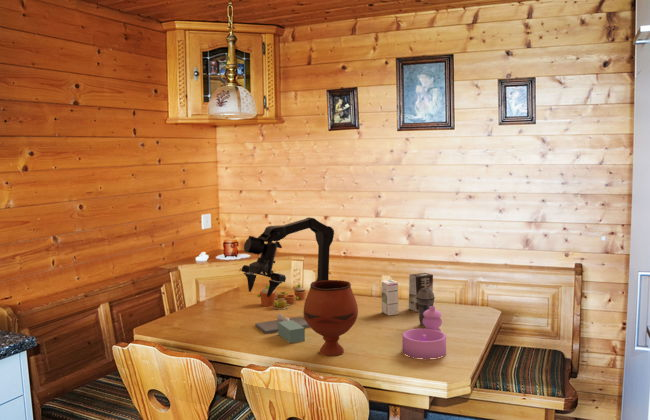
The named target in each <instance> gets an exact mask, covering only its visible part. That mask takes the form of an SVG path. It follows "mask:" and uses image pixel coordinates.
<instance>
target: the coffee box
mask: <svg viewBox="0 0 650 420" xmlns="http://www.w3.org/2000/svg"><path fill="white" fill-rule="evenodd" d="M425 278H426V288H429V289H431V290H432V291H433V292H434V274H431V273H427V272H419V273H411V274H409V277H408V280H409V281H408V309H409V310H411V311H413V312H416V313H419V308H418V301H417V295H418V292H419V291H420V290H421V289H422V288H425Z"/></svg>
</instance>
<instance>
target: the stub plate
mask: <svg viewBox="0 0 650 420" xmlns="http://www.w3.org/2000/svg"><path fill="white" fill-rule="evenodd" d="M289 320H293V321H294V322H296V323H298V324H299V325H301V326H302V327H304V328H305V329H307V328H311V327H310V326H309V325H308V324H307V322H306V320H305V318H302V317H301V316H296V317H284V313H277V318H276V320H275V319H274V320H269V321H261V322H255V327H256V328H258V329H259V330H260V331H261V332H263V333H264V334H265V335H267V334H273V333H274V334H275V333H278V322H282V321H289Z"/></svg>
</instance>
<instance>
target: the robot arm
mask: <svg viewBox="0 0 650 420" xmlns="http://www.w3.org/2000/svg"><path fill="white" fill-rule="evenodd" d="M308 229H310V231H312V232H313V233H314V235H315V240H316V243H317V246H318V248H317V249H318V250H317V251H318V252H317V255H318V256H317V278H316V280H315V281H322V280H330V279H329V277H330V276H329V274H330V271H329V269H330V250H331V249H330V247H331V245H332V243H333V242H334V235H335V230H334V228H333V227H332V226H328V225H326V224H324V223H323V222H320V221H318V219H316V218H314V217H306V218H303V219H300V220H297V221H294V222H293V221H292V222H290V223H286V224H282V225H269V226H266V227H265V229H264V231H263V232H262V233H261V234H260V235H259V236H258V237H255V236H253V235H252V236H251V235H249V236H248V238H247V239H246V240H245V242H244V244H243V252H244V253H248V254H253V255H258V258H257V261H253V262H252V263H249V265H246V264H244V265H243V266H242V267H241V272H242V273H243V275H244V276H245V277H246V280H247V288H248V292H250V293H251V292H252V290H253V288H254V285H255V281H256V279H257V275H259V276H264V277H267V278H270V279H268V281H269V282H268V283H269V285H268V286H269V289H268V293H267V297H269V296H270V295H271V294H272V292H273V291H276V290H275V289H277V288H278V286H279V285H280V284H283V283H286V280H287V277H286V275H285V274H281V273H280V272H274V270H273V265H274V264H276V260H275V257H276V252H277V248H278V249H282V248H283V247H282V245H281V244H280V241H281V240H283V239H284V238H286V237H287V236H289V235H291V234H294V233H295V234H296V233H298V232H300V231H301V232H302V231H304V230H308ZM259 255H260V257H259Z"/></svg>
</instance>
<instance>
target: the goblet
mask: <svg viewBox="0 0 650 420" xmlns="http://www.w3.org/2000/svg"><path fill="white" fill-rule="evenodd" d="M309 286H310V288H309V290H308V293H307V295H306V297H305V299H304V300H305V301H304V305H303V316H304V318H303V319H304V320H306V322H307V324H308V325H309V326H310V327H309V328H310V329H312V330H313V332H315V333H316V334H318V335H320V336H322V337H323V338H322V339H323V340H324V343H323V344H322V345H321V347H320V349H319V354H320V355H322V356H327V357H335V356H339V355H340V356H341V355H343V354H344V352H345V350H344V347H342V345H341V344H340V343H339V340H340V336H342V335H344V334H346V333H347V332H349V330H351V328H352V327H353V326H354V325H355V324H356V322H357V319H358V315H359V308H358V303H357V299H356V297H355V295H354V292H353V289H352V287H351V286H352V283H351V282H350V281H346V280H341V279H340V280H339V279H337V280H336V279H329V280H322V281H316V280H315V281H312V282H311V283H310V285H309Z"/></svg>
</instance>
